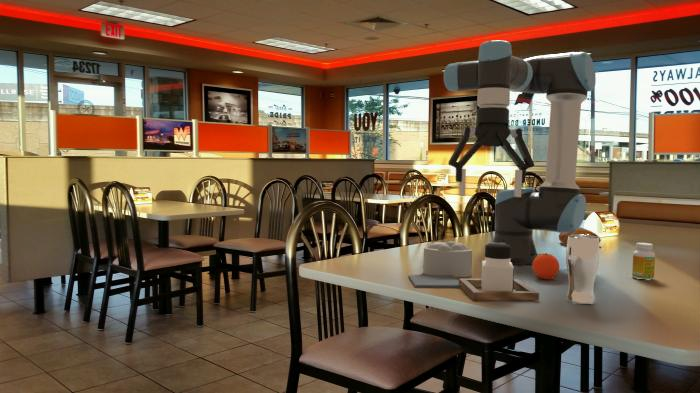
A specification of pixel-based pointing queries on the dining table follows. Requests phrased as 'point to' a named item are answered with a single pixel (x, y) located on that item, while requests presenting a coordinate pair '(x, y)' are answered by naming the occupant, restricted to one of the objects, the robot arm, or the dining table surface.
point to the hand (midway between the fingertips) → (489, 196)
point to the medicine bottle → (497, 268)
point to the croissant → (581, 231)
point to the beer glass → (582, 267)
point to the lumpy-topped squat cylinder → (447, 259)
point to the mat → (435, 281)
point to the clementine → (545, 266)
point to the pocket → (521, 294)
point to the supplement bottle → (643, 261)
